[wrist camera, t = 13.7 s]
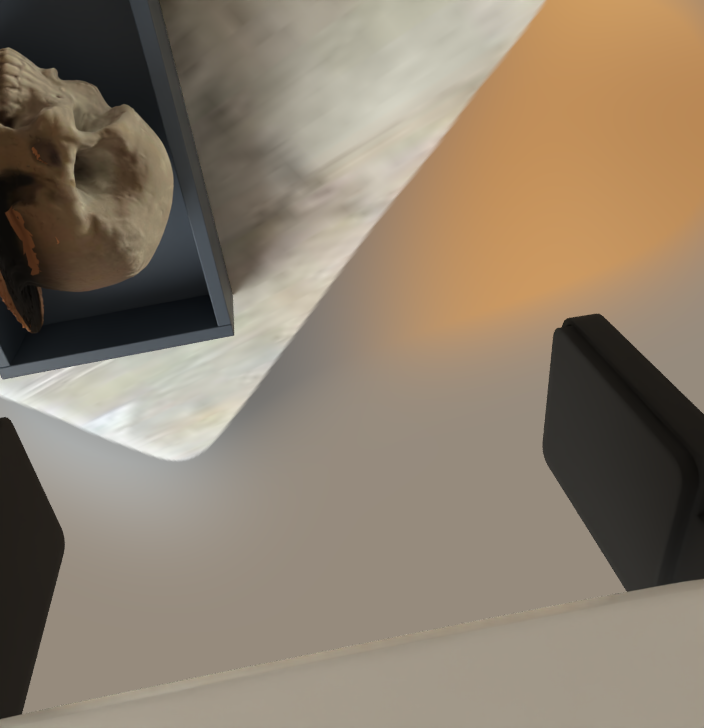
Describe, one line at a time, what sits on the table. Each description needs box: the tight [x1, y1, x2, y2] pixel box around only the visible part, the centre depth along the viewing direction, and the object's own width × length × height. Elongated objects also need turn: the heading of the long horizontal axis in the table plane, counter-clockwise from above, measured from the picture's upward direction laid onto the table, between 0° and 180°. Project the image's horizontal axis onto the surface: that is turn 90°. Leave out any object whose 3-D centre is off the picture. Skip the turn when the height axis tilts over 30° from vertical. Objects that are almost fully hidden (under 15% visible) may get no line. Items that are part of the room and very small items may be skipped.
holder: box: [0, 0, 234, 379], centre depth 31 cm, size 18×12×5 cm, turn 7°
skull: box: [0, 48, 174, 333], centre depth 27 cm, size 12×10×10 cm
